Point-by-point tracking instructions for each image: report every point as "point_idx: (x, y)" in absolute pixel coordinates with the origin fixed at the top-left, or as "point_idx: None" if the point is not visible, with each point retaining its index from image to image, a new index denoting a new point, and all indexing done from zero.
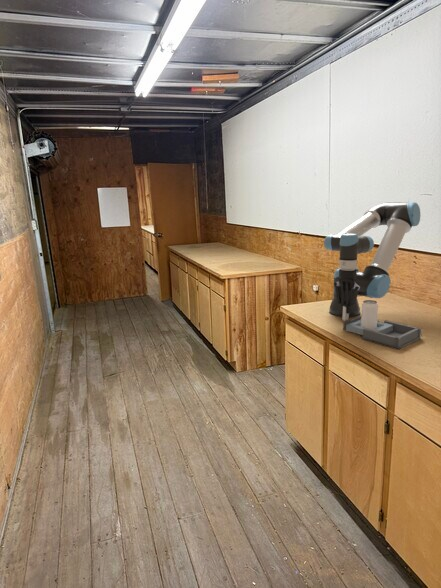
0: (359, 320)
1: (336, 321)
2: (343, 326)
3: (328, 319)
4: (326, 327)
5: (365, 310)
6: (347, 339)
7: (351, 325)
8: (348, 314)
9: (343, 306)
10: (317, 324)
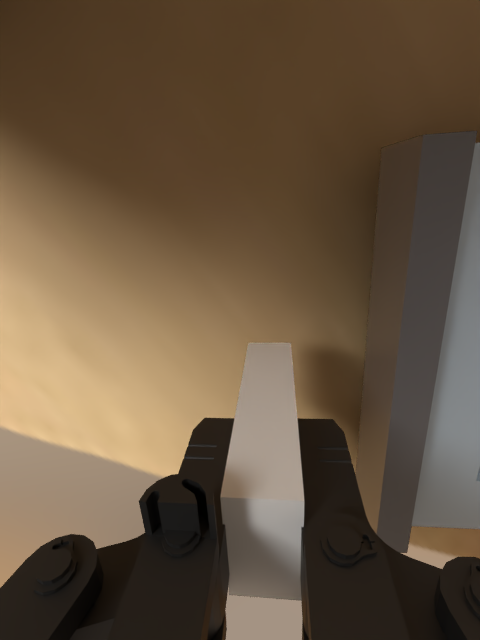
0: (448, 311)
1: (96, 259)
2: (363, 505)
3: (2, 266)
4: (175, 450)
5: None
6: (461, 545)
7: (458, 512)
8: (293, 388)
9: (243, 591)
10: (77, 440)
